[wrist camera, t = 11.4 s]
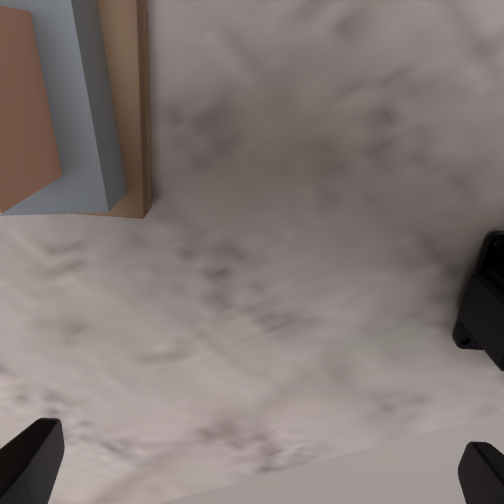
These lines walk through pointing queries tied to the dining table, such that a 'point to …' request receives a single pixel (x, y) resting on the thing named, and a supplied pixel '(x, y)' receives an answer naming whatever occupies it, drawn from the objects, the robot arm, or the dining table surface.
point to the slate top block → (75, 109)
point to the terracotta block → (23, 113)
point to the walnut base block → (129, 99)
